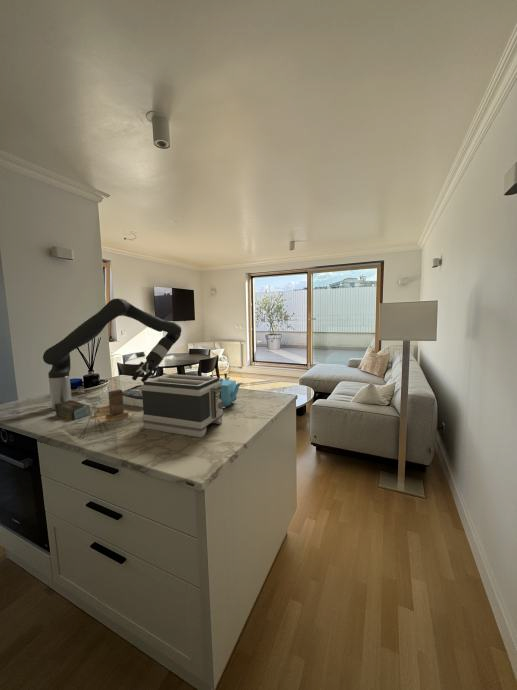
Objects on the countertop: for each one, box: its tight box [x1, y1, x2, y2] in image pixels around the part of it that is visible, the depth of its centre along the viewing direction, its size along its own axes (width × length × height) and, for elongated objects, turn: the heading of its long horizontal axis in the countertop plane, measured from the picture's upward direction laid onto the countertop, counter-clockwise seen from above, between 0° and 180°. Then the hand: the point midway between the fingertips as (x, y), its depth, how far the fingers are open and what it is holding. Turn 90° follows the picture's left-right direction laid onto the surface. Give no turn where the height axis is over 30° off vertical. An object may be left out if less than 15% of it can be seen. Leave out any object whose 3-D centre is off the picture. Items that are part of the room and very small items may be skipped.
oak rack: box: [90, 403, 135, 425], centre depth 135 cm, size 16×13×5 cm
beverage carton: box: [55, 400, 92, 421], centre depth 139 cm, size 8×19×7 cm, turn 58°
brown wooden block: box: [107, 389, 125, 417], centre depth 132 cm, size 3×5×13 cm, turn 143°
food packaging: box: [122, 384, 143, 408], centre depth 159 cm, size 25×8×23 cm
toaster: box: [141, 373, 224, 438], centre depth 124 cm, size 18×34×21 cm, turn 69°
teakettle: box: [218, 376, 244, 407], centre depth 153 cm, size 19×19×15 cm
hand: (137, 380), depth 140 cm, fingers open, 8 cm apart
